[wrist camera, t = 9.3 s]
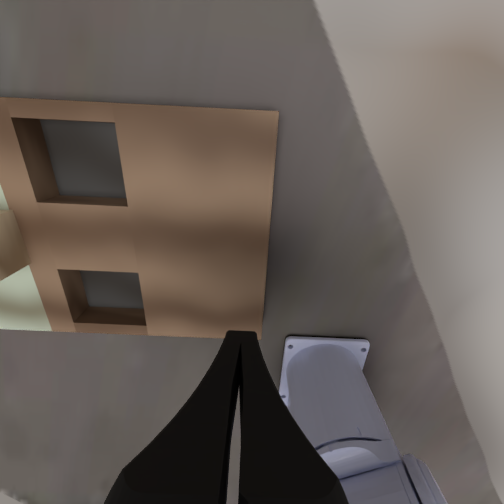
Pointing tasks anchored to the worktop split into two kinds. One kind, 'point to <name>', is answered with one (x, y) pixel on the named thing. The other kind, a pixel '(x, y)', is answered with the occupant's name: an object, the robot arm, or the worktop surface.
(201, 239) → the board
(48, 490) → the worktop surface
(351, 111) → the worktop surface
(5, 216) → the beech block
